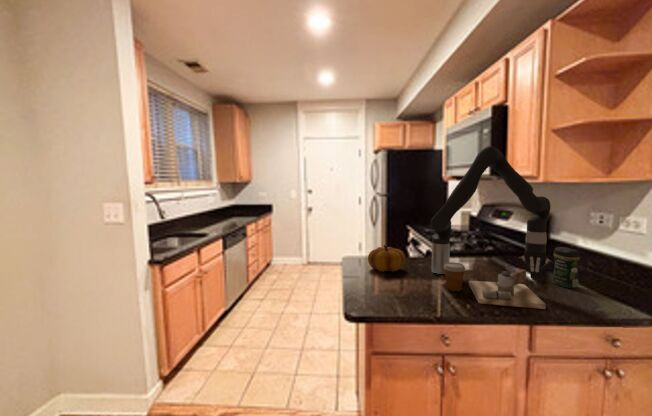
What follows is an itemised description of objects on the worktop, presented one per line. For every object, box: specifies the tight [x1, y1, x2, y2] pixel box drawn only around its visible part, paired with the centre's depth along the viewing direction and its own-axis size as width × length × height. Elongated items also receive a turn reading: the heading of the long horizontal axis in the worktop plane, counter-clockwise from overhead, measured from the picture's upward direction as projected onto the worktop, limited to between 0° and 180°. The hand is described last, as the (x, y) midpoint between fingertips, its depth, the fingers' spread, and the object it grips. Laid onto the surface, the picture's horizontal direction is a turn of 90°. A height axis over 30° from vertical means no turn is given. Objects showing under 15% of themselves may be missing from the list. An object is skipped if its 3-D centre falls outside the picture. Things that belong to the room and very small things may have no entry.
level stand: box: [468, 280, 547, 310], centre depth 132 cm, size 24×24×5 cm
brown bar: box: [497, 268, 527, 296], centre depth 131 cm, size 19×6×10 cm, turn 123°
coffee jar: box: [552, 246, 581, 289], centre depth 142 cm, size 10×8×19 cm
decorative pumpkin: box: [367, 244, 406, 273], centre depth 174 cm, size 20×22×15 cm
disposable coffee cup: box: [444, 261, 466, 292], centre depth 140 cm, size 10×10×12 cm
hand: (534, 279), depth 132 cm, fingers closed
